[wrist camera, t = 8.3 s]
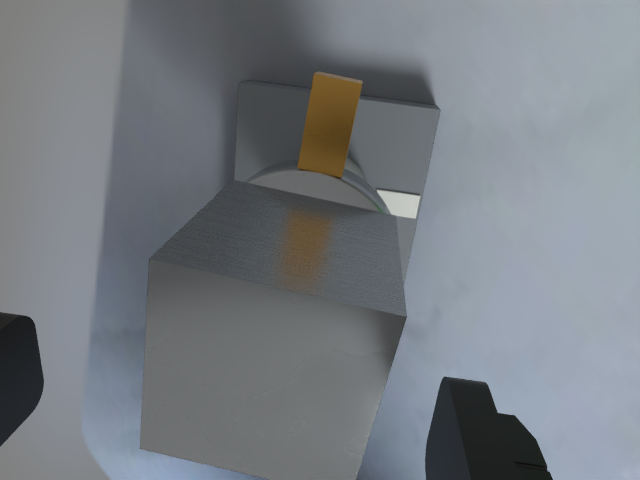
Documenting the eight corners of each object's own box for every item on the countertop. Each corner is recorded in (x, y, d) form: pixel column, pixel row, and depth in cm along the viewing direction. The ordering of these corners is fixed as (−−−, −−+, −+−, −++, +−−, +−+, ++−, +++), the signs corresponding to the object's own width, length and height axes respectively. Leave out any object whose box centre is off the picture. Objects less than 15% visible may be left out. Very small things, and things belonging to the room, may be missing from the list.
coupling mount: (401, 275, 23) (410, 366, 16) (239, 250, 23) (186, 329, 17) (436, 105, 20) (464, 135, 13) (247, 80, 20) (187, 97, 14)
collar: (444, 96, 13) (505, 146, 7) (374, 340, 16) (372, 525, 10) (240, 53, 13) (117, 64, 7) (211, 303, 16) (110, 462, 10)
